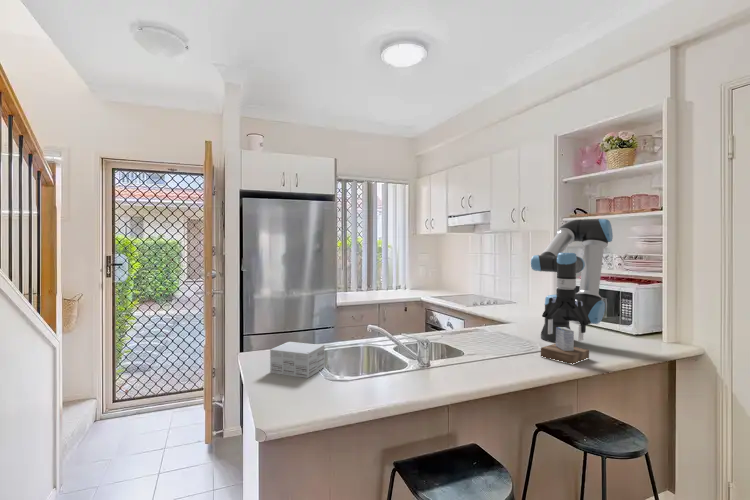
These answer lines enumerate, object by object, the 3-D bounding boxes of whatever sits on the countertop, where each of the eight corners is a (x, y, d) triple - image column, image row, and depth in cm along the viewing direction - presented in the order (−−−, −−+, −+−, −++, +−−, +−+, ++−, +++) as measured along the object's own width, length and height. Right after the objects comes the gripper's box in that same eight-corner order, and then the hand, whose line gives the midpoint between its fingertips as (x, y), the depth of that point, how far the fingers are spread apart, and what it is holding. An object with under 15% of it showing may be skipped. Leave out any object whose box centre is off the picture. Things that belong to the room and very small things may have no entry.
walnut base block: (557, 351, 182) (557, 342, 181) (588, 359, 170) (589, 349, 170) (540, 356, 173) (540, 347, 173) (572, 365, 162) (572, 355, 162)
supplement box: (325, 368, 157) (325, 344, 157) (308, 378, 145) (308, 353, 145) (288, 363, 163) (288, 340, 163) (269, 373, 151) (269, 348, 151)
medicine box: (573, 351, 168) (574, 331, 168) (563, 351, 168) (563, 331, 168) (565, 346, 176) (565, 327, 175) (555, 346, 176) (555, 326, 176)
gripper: (534, 285, 179) (533, 332, 179) (591, 292, 159) (590, 344, 159) (543, 284, 183) (542, 330, 184) (600, 290, 163) (599, 341, 164)
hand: (565, 337), depth 172 cm, fingers open, 13 cm apart
